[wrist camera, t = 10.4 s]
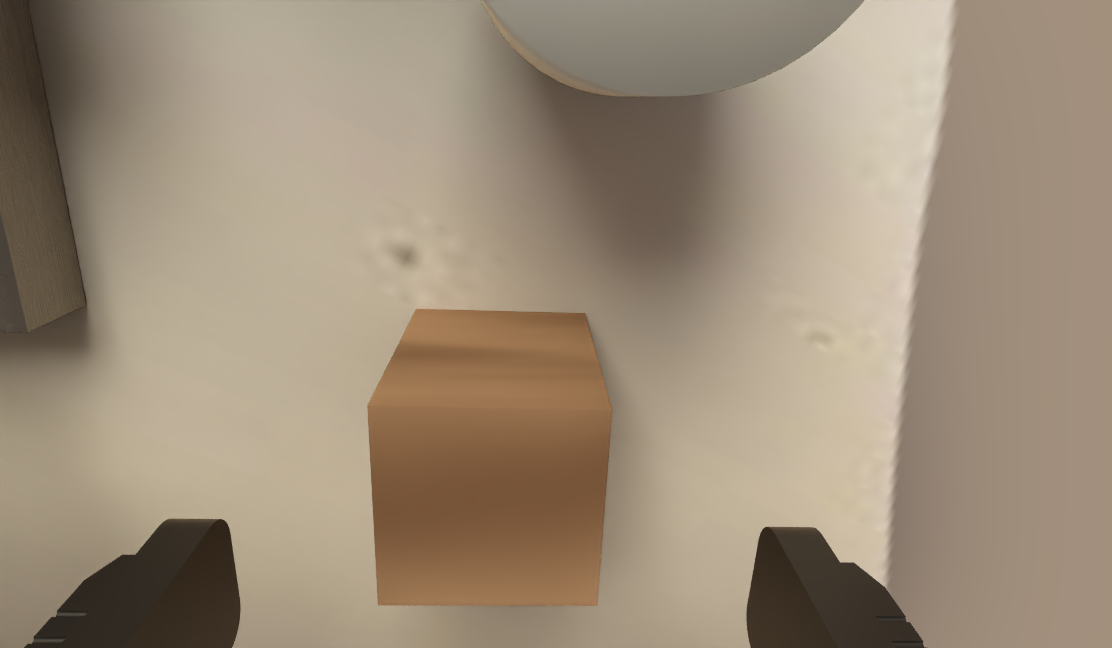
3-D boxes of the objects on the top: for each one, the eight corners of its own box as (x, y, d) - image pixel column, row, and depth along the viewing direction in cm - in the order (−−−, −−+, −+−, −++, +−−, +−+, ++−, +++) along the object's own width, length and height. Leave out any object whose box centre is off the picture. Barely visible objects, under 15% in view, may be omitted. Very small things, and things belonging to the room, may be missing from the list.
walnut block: (576, 459, 18) (597, 605, 13) (420, 458, 18) (378, 605, 13) (584, 312, 17) (612, 409, 12) (416, 308, 17) (367, 405, 11)
